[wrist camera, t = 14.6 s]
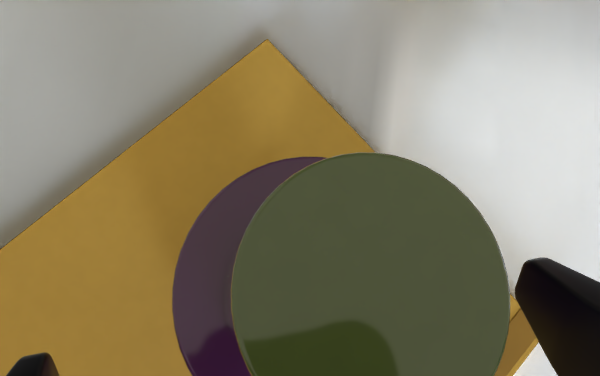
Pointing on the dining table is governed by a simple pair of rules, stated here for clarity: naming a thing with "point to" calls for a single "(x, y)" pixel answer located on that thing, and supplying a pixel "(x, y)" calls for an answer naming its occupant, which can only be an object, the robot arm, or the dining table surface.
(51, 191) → the dining table surface
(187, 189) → the mustard yellow board
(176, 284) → the pepper mill
